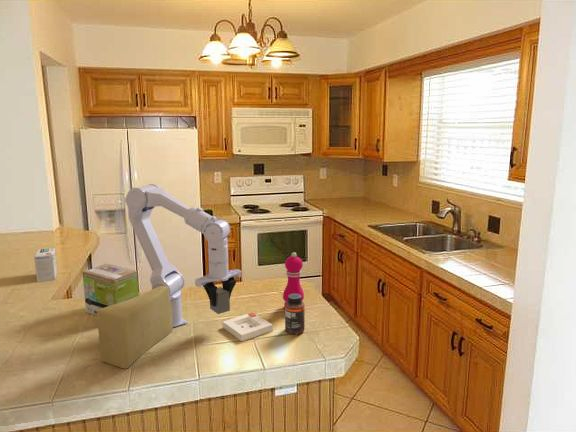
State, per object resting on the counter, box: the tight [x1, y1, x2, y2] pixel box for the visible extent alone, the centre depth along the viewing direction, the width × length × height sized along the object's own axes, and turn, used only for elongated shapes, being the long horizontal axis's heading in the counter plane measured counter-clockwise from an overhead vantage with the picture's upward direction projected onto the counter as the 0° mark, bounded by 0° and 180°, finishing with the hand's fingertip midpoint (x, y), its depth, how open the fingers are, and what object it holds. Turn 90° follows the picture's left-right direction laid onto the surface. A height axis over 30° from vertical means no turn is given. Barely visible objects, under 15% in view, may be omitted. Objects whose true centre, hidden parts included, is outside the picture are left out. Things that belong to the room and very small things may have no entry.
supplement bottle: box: [284, 294, 306, 335], centre depth 129 cm, size 6×6×11 cm
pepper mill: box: [282, 251, 305, 309], centre depth 144 cm, size 7×7×20 cm
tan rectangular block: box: [96, 286, 173, 370], centre depth 118 cm, size 22×10×15 cm, turn 154°
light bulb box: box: [33, 247, 58, 283], centre depth 173 cm, size 11×7×11 cm, turn 25°
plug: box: [209, 286, 231, 315], centre depth 128 cm, size 4×5×6 cm
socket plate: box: [222, 312, 274, 342], centre depth 130 cm, size 11×11×2 cm
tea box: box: [81, 263, 140, 316], centre depth 140 cm, size 15×10×15 cm, turn 62°
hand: (219, 303), depth 128 cm, fingers closed on plug, 4 cm apart
